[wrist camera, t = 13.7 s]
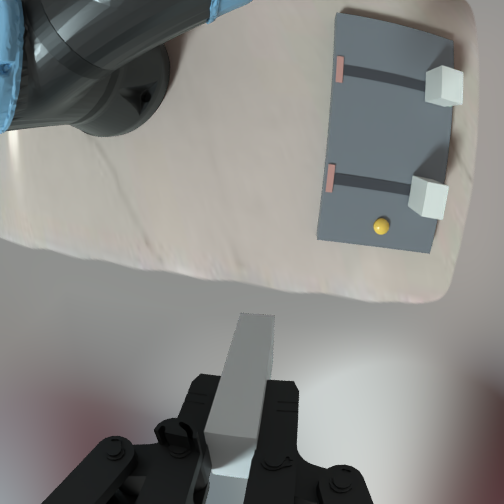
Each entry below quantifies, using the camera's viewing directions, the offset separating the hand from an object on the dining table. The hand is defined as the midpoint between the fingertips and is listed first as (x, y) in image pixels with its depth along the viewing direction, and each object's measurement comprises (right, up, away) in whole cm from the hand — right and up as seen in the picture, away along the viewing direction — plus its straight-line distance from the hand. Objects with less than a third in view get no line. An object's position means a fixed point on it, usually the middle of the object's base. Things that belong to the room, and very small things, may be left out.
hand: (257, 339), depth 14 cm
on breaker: (+20, +22, +13) cm, 32 cm away
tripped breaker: (+18, +11, +17) cm, 27 cm away
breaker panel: (+15, +17, +18) cm, 29 cm away
